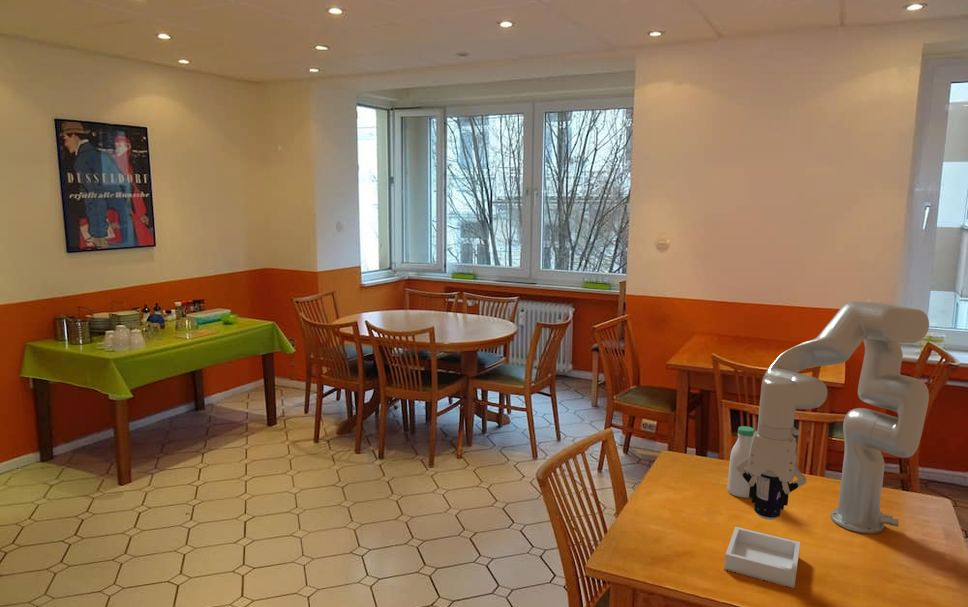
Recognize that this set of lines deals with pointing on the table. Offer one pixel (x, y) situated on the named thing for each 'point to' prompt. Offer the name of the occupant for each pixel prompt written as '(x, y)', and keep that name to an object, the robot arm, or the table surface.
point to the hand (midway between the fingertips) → (767, 503)
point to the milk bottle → (738, 455)
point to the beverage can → (768, 495)
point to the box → (763, 556)
